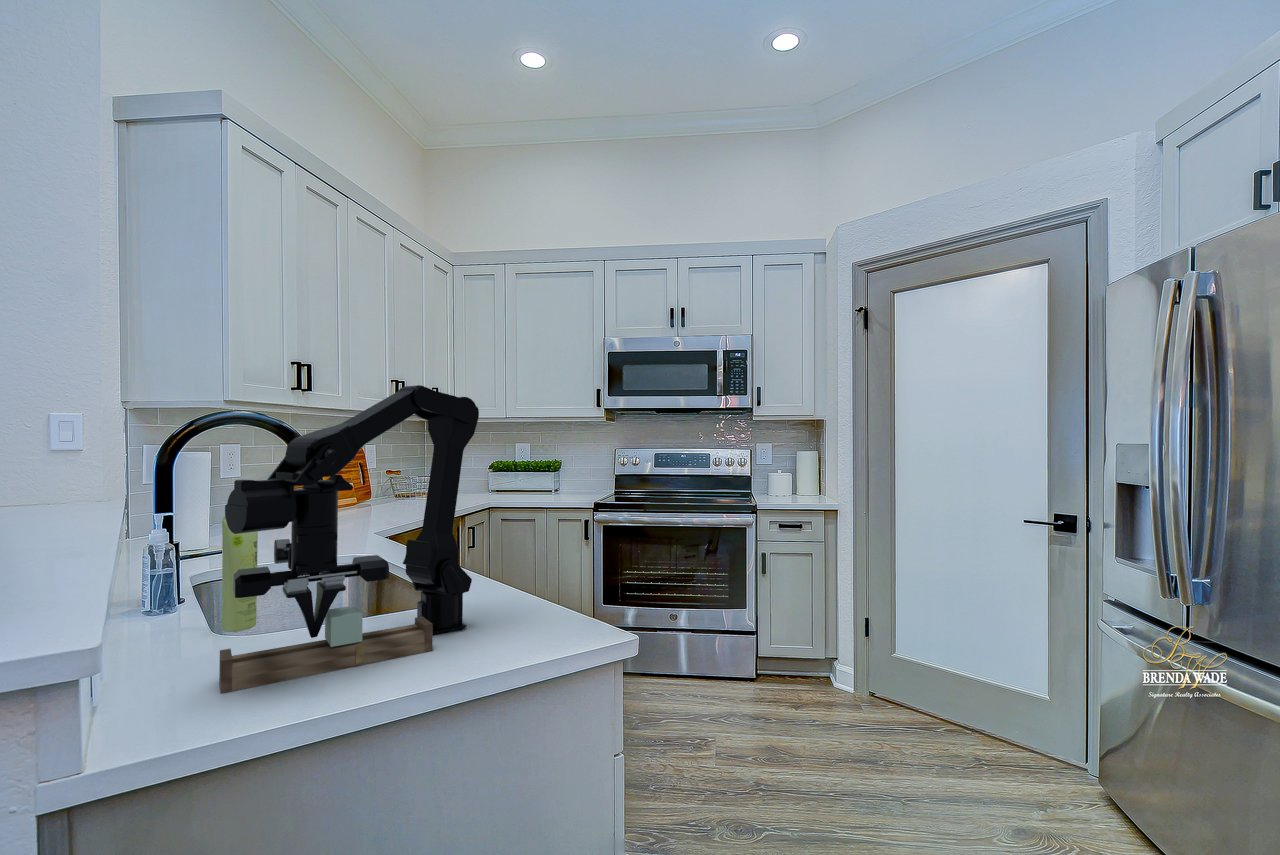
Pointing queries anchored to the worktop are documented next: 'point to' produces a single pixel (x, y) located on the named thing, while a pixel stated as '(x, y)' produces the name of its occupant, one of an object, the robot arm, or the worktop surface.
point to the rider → (343, 626)
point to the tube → (235, 556)
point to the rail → (321, 656)
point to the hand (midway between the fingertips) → (313, 636)
